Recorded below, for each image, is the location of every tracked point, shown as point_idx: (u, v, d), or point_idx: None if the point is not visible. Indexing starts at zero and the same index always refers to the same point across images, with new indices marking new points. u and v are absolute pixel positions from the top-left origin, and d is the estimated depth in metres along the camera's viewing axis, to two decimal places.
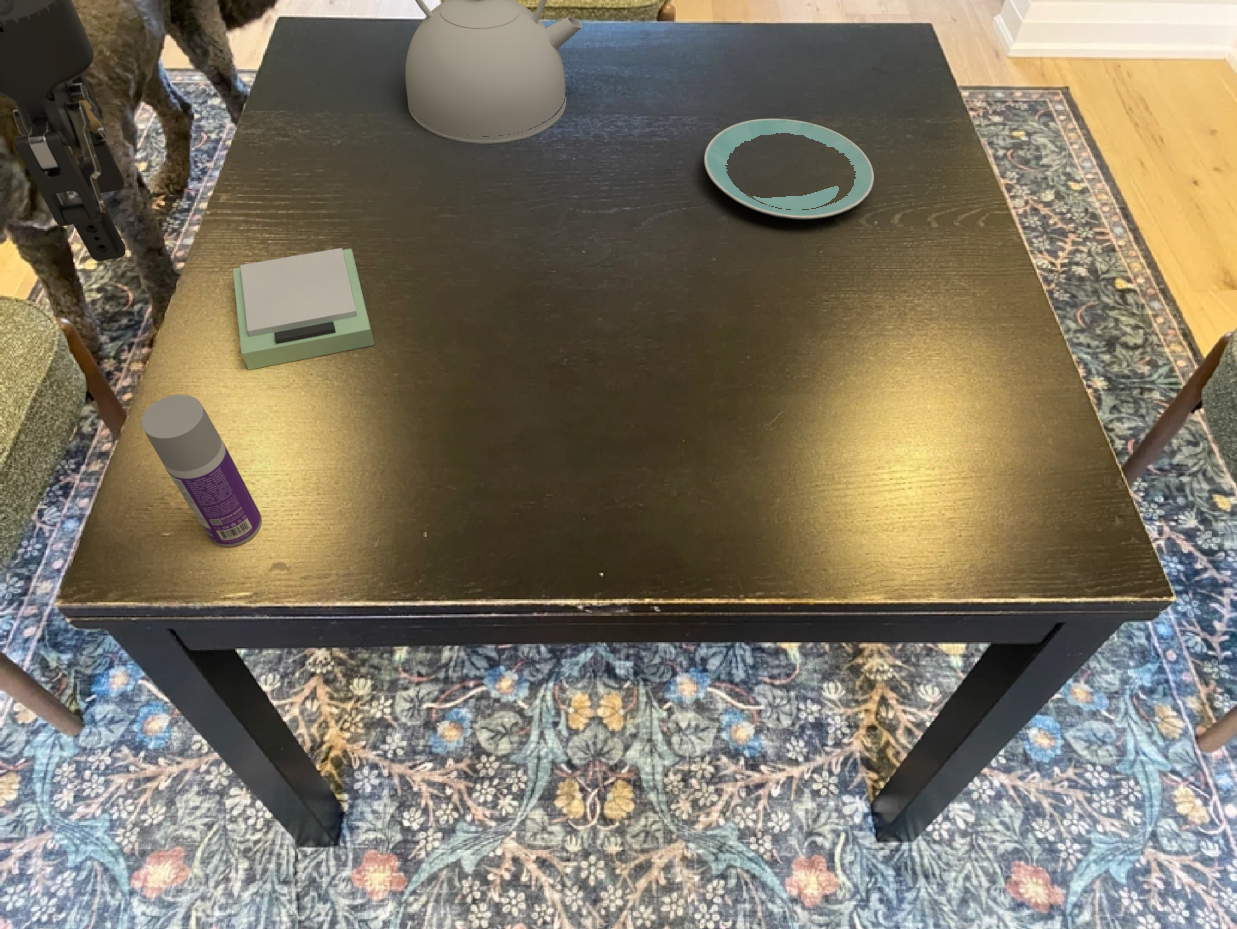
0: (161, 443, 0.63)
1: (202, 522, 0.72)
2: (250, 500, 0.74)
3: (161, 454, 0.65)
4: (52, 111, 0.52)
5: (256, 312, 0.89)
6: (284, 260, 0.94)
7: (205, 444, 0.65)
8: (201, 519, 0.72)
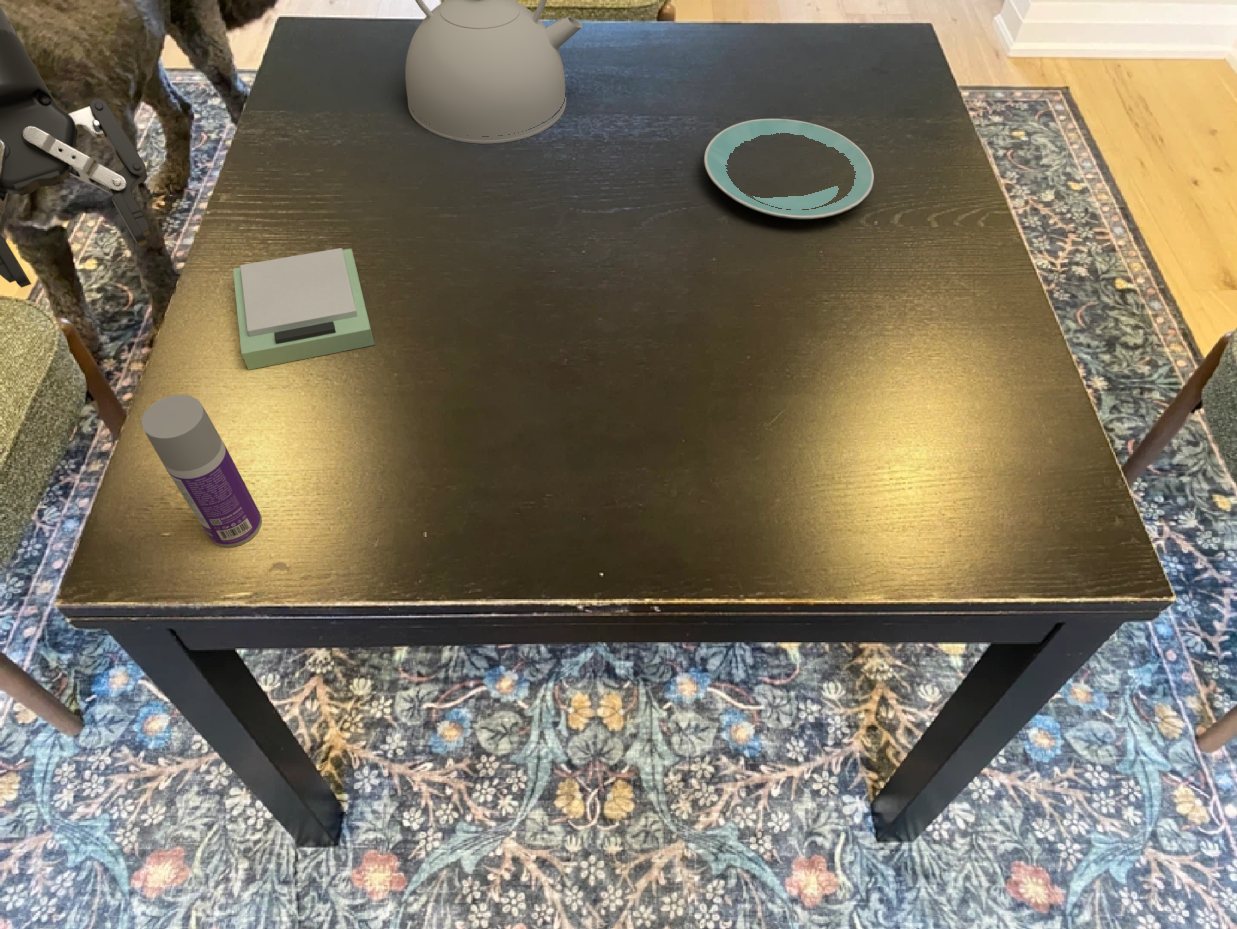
0: (161, 443, 0.63)
1: (202, 522, 0.72)
2: (250, 500, 0.74)
3: (161, 454, 0.65)
4: None
5: (256, 312, 0.89)
6: (284, 260, 0.94)
7: (205, 444, 0.65)
8: (201, 519, 0.72)
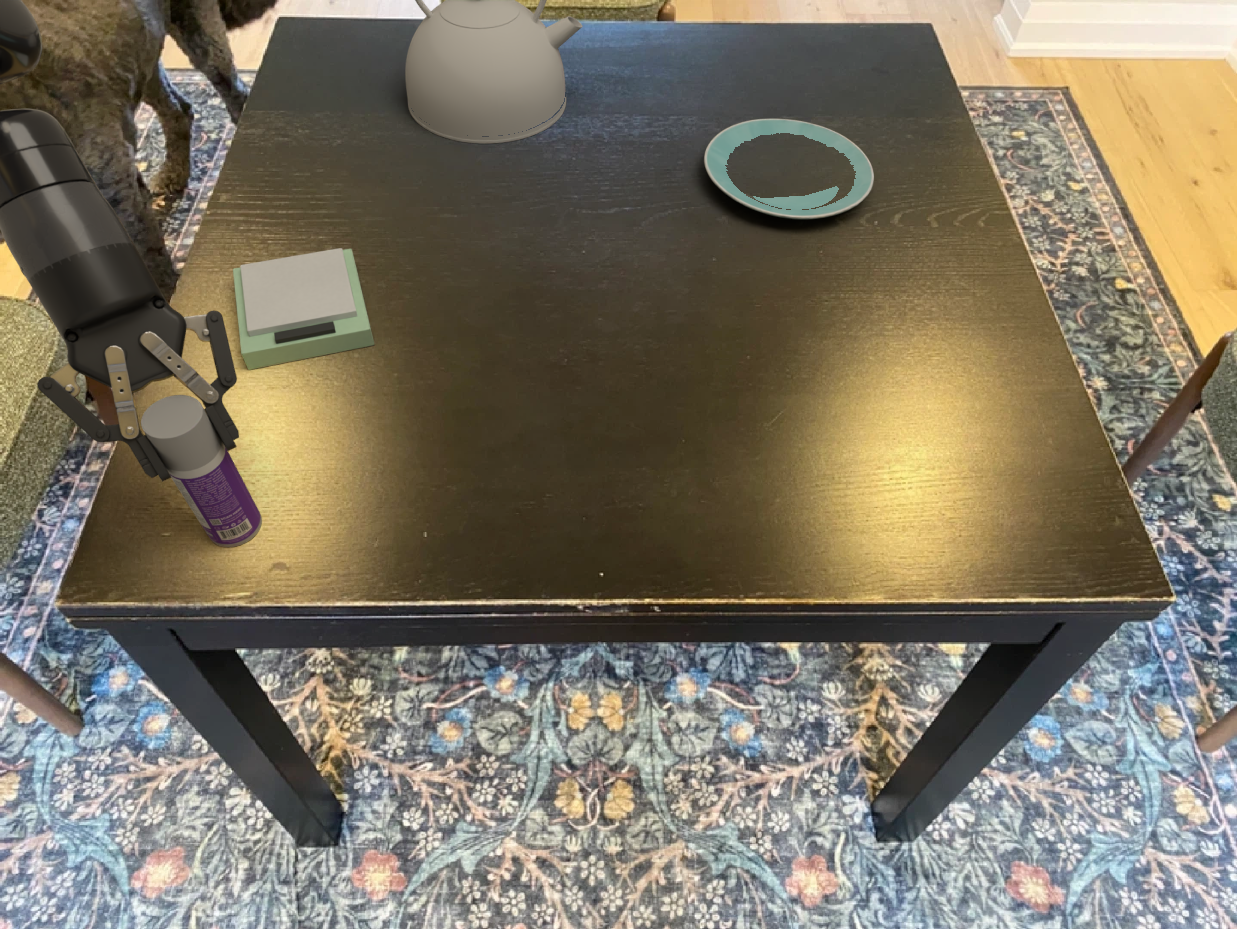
0: (161, 444, 0.63)
1: (202, 522, 0.72)
2: (250, 500, 0.74)
3: (161, 454, 0.65)
4: None
5: (256, 312, 0.89)
6: (284, 260, 0.94)
7: (205, 444, 0.65)
8: (201, 519, 0.72)
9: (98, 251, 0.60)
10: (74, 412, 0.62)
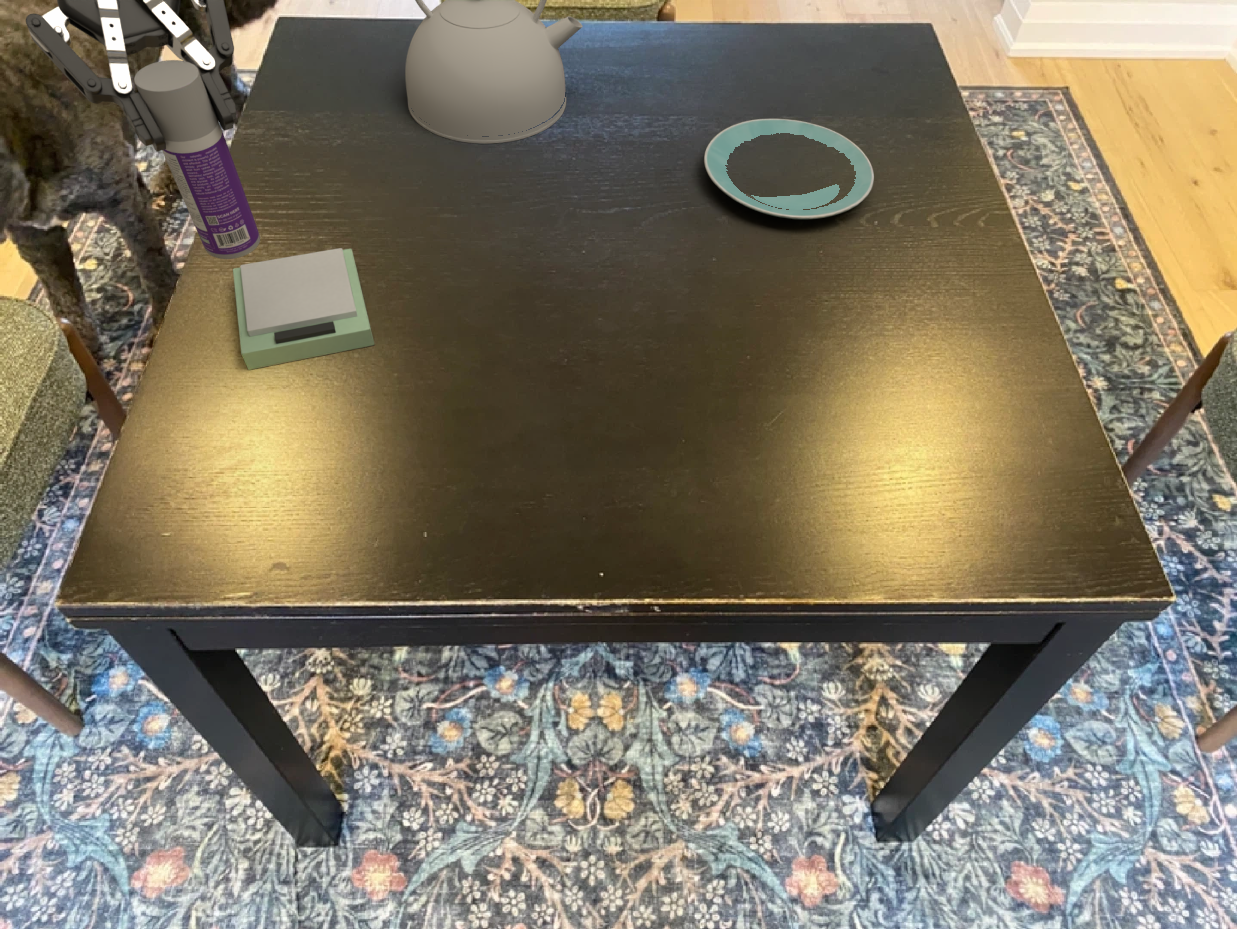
0: (155, 100, 0.61)
1: (198, 222, 0.70)
2: (248, 207, 0.71)
3: (155, 118, 0.62)
4: None
5: (256, 312, 0.89)
6: (284, 260, 0.94)
7: (200, 111, 0.63)
8: (197, 217, 0.69)
9: None
10: (64, 55, 0.59)
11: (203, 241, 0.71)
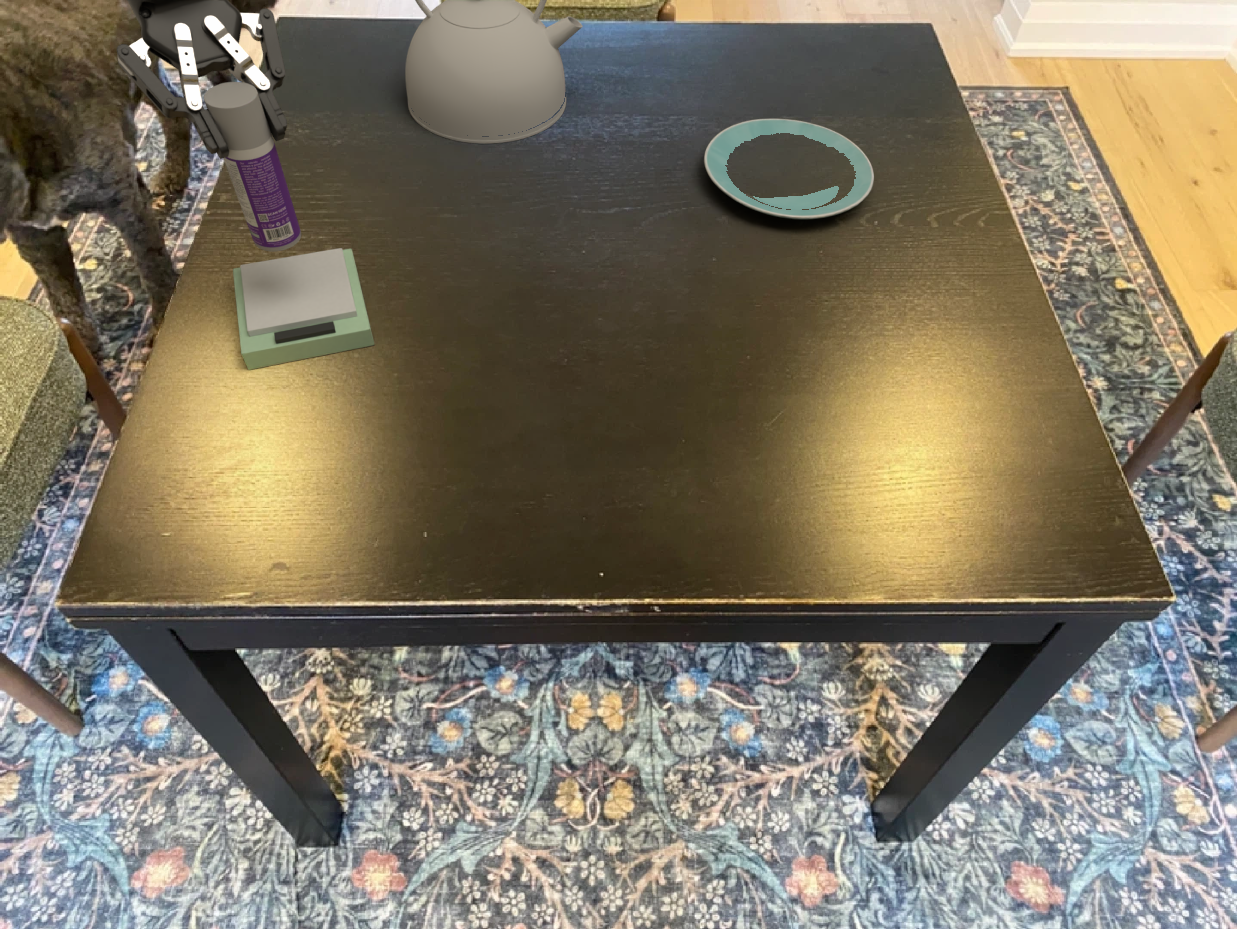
0: (222, 115, 0.73)
1: (251, 219, 0.81)
2: (292, 206, 0.83)
3: (220, 130, 0.74)
4: None
5: (256, 312, 0.89)
6: (284, 260, 0.94)
7: (258, 124, 0.75)
8: (250, 215, 0.81)
9: None
10: (148, 78, 0.71)
11: (253, 236, 0.83)
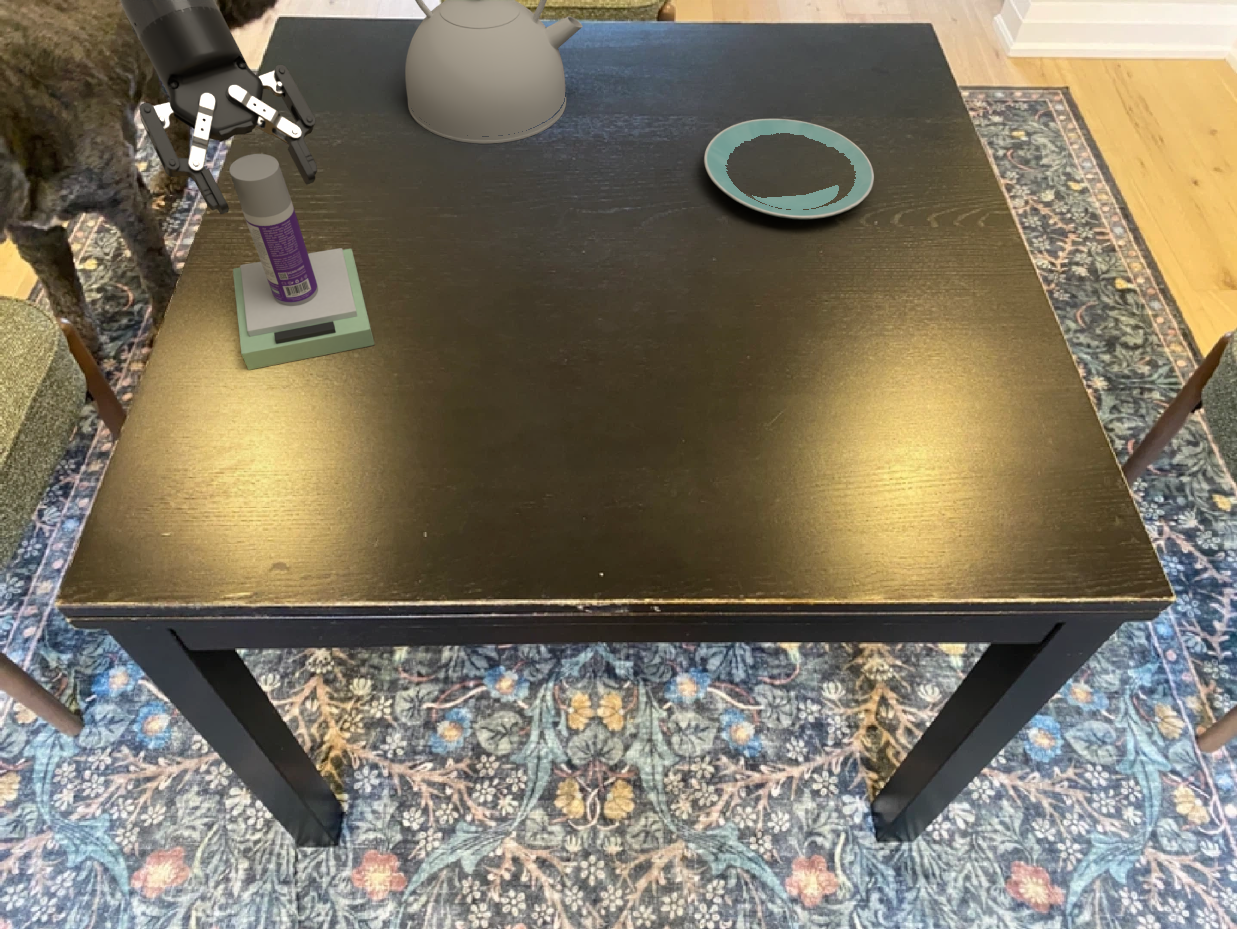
0: (246, 187, 0.78)
1: (271, 277, 0.87)
2: (310, 264, 0.88)
3: (244, 199, 0.79)
4: None
5: (256, 312, 0.89)
6: None
7: (279, 193, 0.80)
8: (271, 273, 0.86)
9: (197, 10, 0.74)
10: (159, 138, 0.75)
11: (274, 291, 0.89)
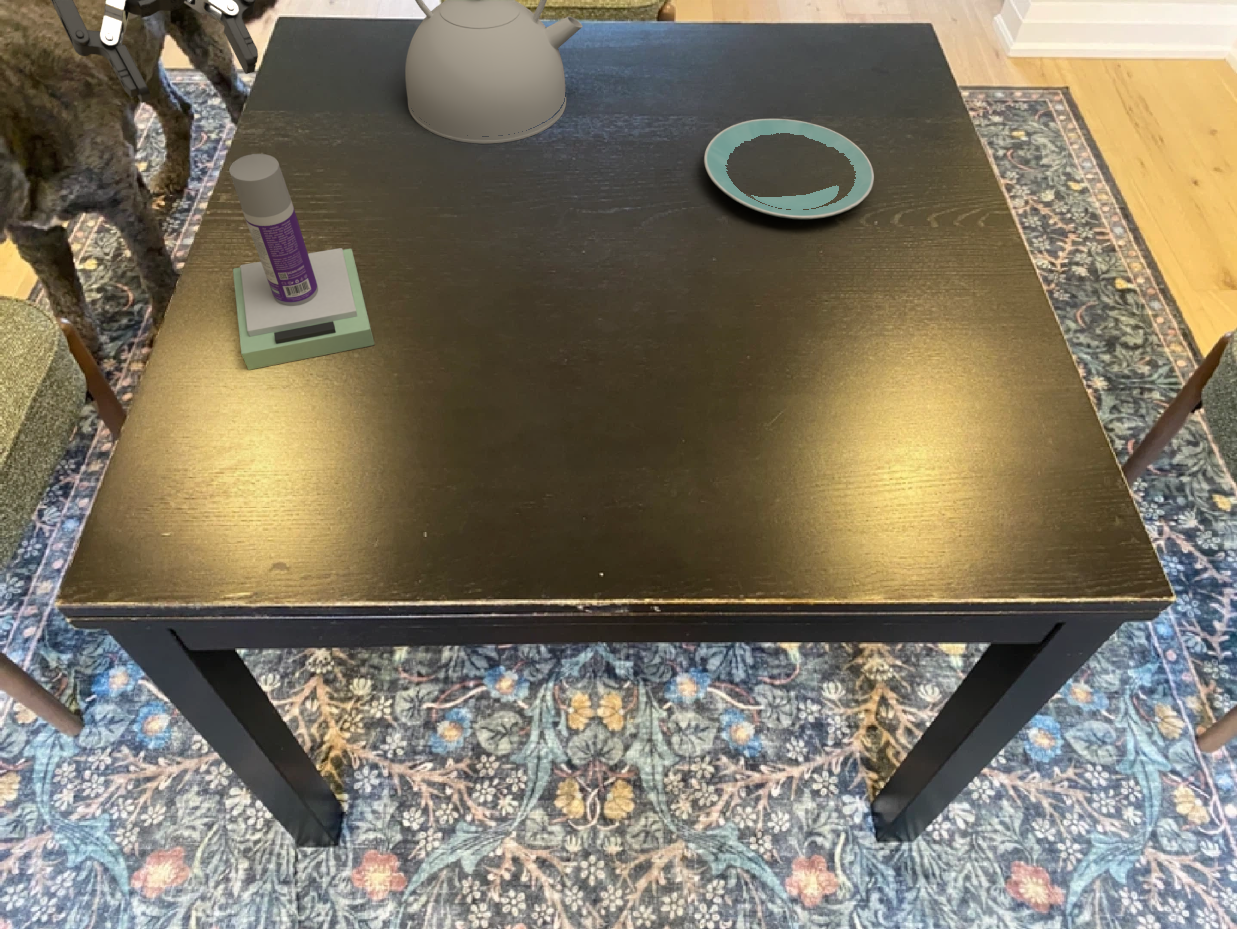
0: (246, 187, 0.78)
1: (271, 277, 0.87)
2: (310, 264, 0.88)
3: (244, 199, 0.79)
4: None
5: (256, 312, 0.89)
6: None
7: (279, 193, 0.80)
8: (271, 273, 0.86)
9: None
10: (63, 4, 0.63)
11: (274, 291, 0.89)
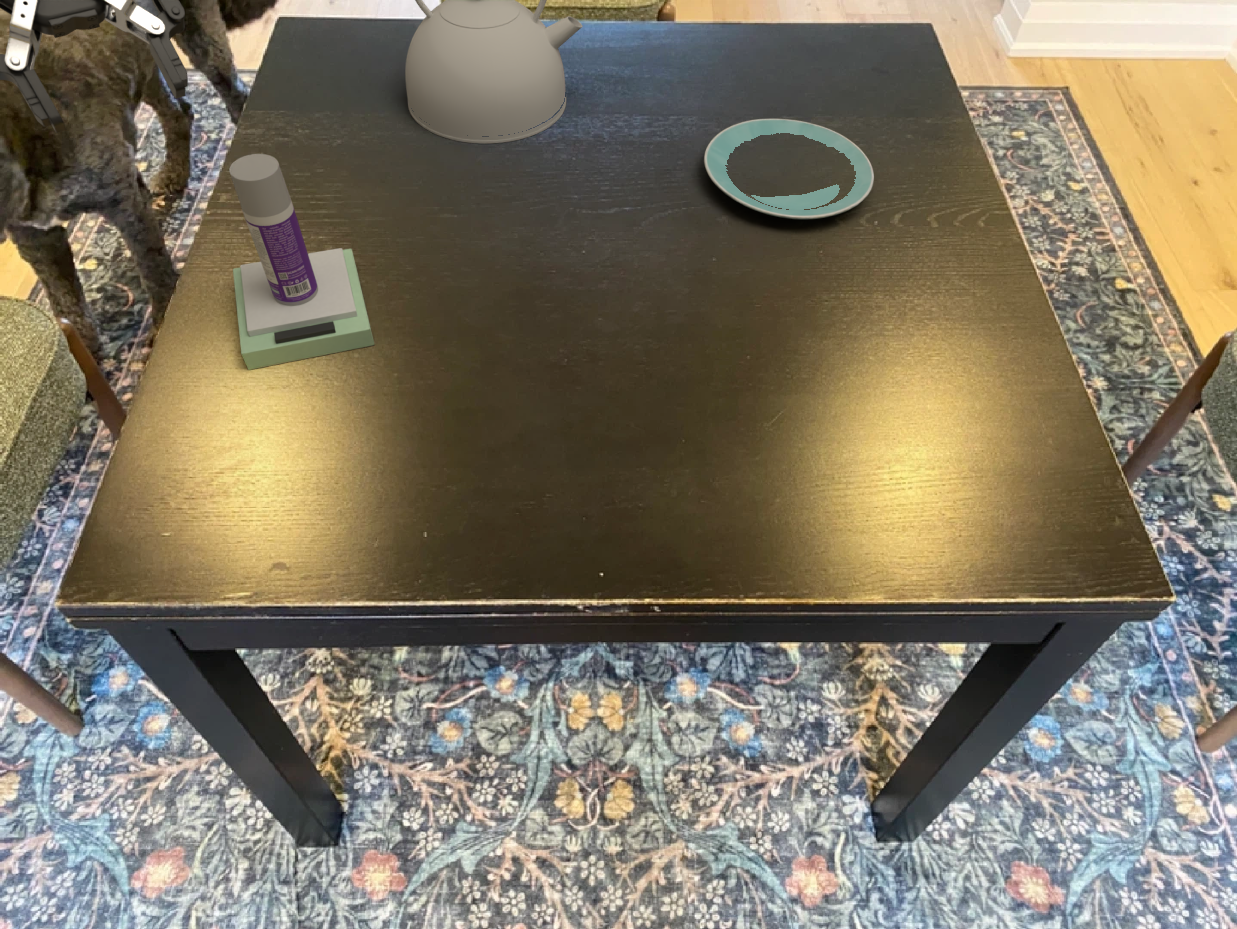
0: (246, 187, 0.78)
1: (271, 277, 0.87)
2: (310, 264, 0.88)
3: (244, 199, 0.79)
4: None
5: (256, 312, 0.89)
6: None
7: (279, 193, 0.80)
8: (271, 273, 0.86)
9: None
10: None
11: (274, 291, 0.89)
